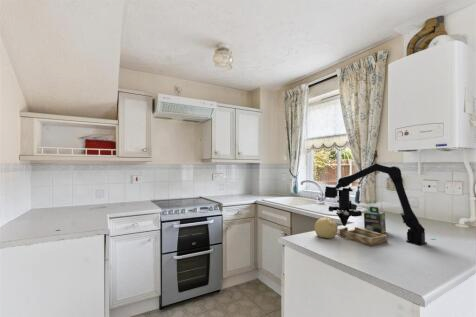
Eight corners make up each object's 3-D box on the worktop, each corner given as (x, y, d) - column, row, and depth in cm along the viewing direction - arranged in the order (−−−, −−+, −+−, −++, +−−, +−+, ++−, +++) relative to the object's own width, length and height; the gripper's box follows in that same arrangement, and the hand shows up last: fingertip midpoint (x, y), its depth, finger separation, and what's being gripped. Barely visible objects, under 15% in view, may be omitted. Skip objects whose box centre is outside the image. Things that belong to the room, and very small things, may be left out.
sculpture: (340, 240, 124) (339, 220, 124) (316, 239, 126) (315, 219, 127) (335, 234, 135) (335, 215, 135) (313, 233, 138) (313, 214, 138)
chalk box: (386, 231, 140) (385, 206, 140) (381, 235, 133) (380, 208, 134) (369, 228, 146) (368, 204, 147) (363, 231, 140) (363, 206, 140)
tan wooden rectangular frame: (387, 242, 121) (387, 235, 121) (370, 246, 115) (370, 239, 115) (356, 233, 137) (356, 227, 137) (340, 236, 131) (340, 229, 131)
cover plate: (350, 233, 139) (350, 227, 139) (341, 236, 132) (341, 230, 132) (327, 228, 150) (327, 222, 150) (318, 230, 144) (318, 225, 144)
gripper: (368, 199, 132) (368, 227, 132) (340, 195, 149) (341, 220, 148) (354, 201, 127) (355, 230, 127) (327, 197, 144) (328, 222, 144)
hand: (344, 225), depth 136 cm, fingers closed
